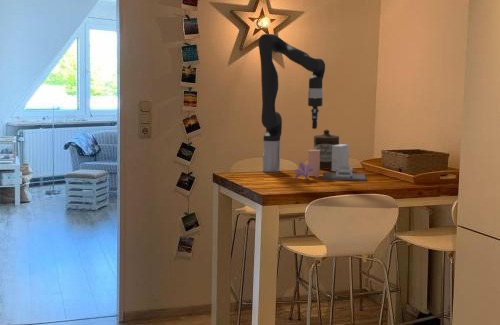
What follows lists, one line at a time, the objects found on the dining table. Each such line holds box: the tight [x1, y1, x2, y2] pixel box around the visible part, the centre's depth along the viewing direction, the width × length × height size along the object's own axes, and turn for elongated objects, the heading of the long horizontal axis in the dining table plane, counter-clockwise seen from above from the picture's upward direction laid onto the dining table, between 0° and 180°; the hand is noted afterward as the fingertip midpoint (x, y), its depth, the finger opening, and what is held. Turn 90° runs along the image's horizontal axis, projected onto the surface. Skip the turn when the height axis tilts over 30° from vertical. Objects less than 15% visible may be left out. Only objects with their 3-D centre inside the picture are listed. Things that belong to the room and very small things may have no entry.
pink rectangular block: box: [307, 149, 321, 178], centre depth 329 cm, size 6×4×14 cm, turn 82°
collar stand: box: [322, 166, 367, 182], centre depth 325 cm, size 22×16×5 cm
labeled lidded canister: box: [313, 129, 340, 170], centre depth 359 cm, size 15×15×22 cm
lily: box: [292, 161, 316, 180], centre depth 318 cm, size 12×12×10 cm
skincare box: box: [331, 143, 350, 173], centre depth 345 cm, size 8×6×15 cm
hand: (314, 127), depth 326 cm, fingers open, 8 cm apart
